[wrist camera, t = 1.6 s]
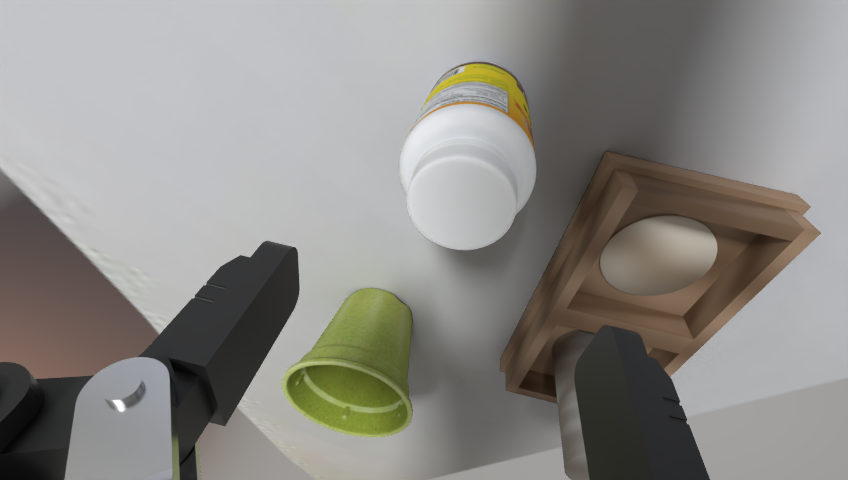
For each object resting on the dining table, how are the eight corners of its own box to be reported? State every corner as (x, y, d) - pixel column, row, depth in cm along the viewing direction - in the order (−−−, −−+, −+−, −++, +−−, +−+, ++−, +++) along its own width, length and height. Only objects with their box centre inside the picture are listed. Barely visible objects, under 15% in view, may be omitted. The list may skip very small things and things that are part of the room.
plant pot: (316, 266, 32) (264, 355, 25) (429, 276, 30) (406, 373, 23) (337, 339, 37) (299, 427, 30) (433, 350, 36) (415, 445, 29)
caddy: (606, 151, 22) (662, 271, 14) (797, 195, 21) (969, 345, 13) (500, 359, 35) (497, 483, 27) (617, 388, 34) (650, 522, 26)
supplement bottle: (512, 165, 23) (513, 281, 15) (422, 145, 23) (377, 250, 15) (543, 68, 20) (567, 154, 12) (437, 47, 20) (390, 117, 12)
